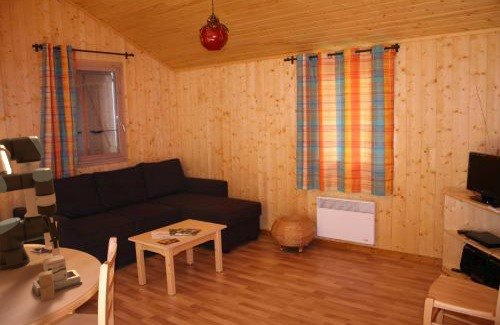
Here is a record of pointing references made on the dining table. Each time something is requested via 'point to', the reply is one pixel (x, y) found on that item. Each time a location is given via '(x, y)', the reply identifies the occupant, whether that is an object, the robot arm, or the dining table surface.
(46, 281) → the box
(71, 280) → the rail plate
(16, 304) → the dining table surface
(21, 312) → the dining table surface
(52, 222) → the robot arm
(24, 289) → the dining table surface
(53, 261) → the ink box
